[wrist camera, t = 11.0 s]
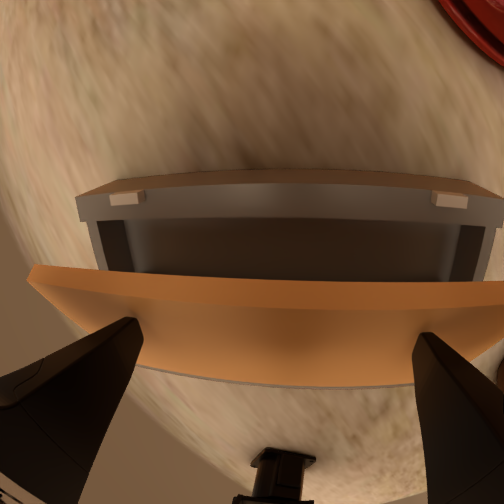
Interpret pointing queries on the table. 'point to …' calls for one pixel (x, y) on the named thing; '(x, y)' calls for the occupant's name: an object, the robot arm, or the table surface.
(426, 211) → the grey rectangular tray
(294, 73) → the table surface
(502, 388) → the plant pot
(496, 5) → the plant pot
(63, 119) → the table surface
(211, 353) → the cover
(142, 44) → the table surface
